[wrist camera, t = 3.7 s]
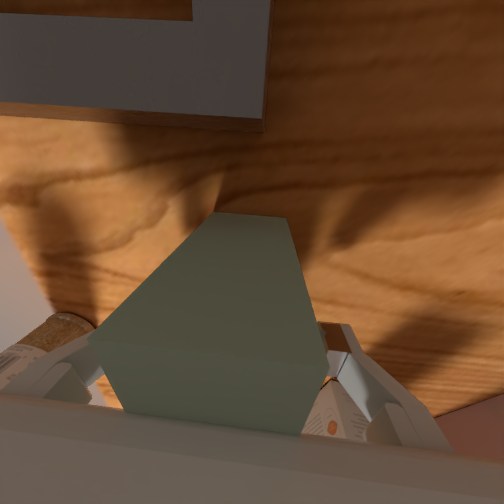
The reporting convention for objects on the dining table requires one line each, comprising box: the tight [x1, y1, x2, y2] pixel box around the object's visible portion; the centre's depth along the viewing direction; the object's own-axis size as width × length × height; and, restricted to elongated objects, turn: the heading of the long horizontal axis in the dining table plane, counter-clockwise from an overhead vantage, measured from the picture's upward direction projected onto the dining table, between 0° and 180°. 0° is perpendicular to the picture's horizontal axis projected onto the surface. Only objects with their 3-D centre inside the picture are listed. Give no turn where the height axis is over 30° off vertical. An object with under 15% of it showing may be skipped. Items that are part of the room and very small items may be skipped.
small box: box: [301, 380, 370, 441], centre depth 15 cm, size 8×6×13 cm
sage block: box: [87, 212, 330, 435], centre depth 9 cm, size 4×9×9 cm, turn 176°
